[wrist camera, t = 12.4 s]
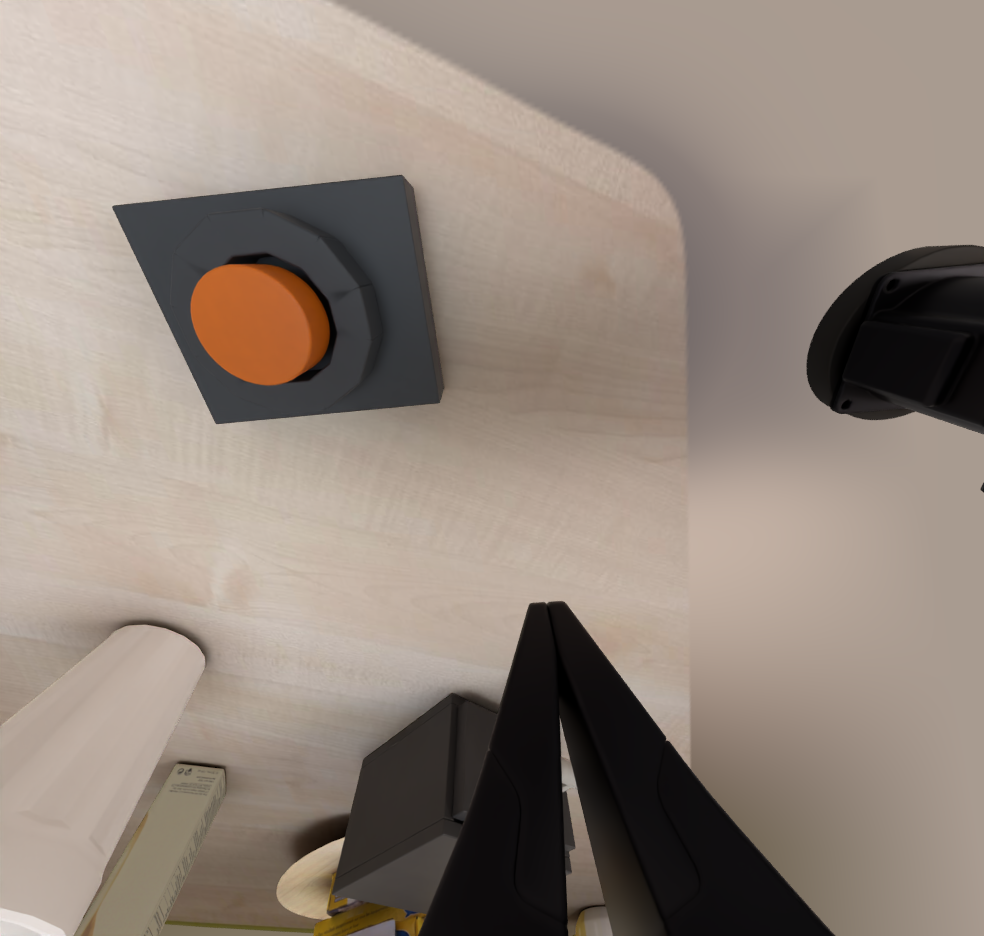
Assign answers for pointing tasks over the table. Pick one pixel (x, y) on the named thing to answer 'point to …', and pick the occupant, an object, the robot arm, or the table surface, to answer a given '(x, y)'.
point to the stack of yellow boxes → (339, 900)
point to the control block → (324, 267)
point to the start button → (259, 322)
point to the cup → (84, 772)
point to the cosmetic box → (158, 856)
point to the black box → (404, 816)
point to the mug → (593, 922)
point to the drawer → (470, 757)
